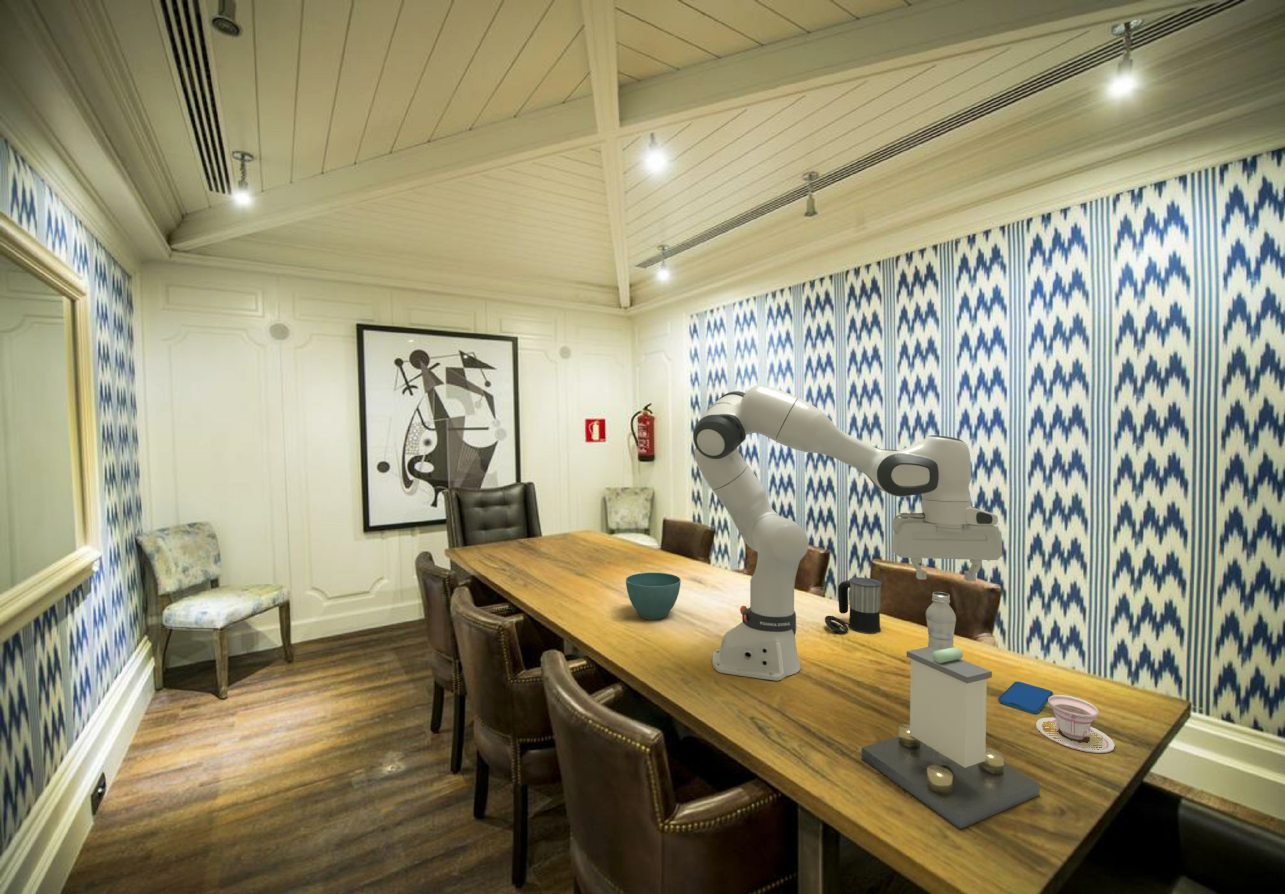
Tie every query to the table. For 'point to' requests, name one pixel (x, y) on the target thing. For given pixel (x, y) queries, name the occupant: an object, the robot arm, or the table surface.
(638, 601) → the plant pot
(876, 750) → the base
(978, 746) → the instrument head
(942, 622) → the plastic bottle
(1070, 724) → the teacup
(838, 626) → the milk frother
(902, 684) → the table surface
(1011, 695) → the smartphone
